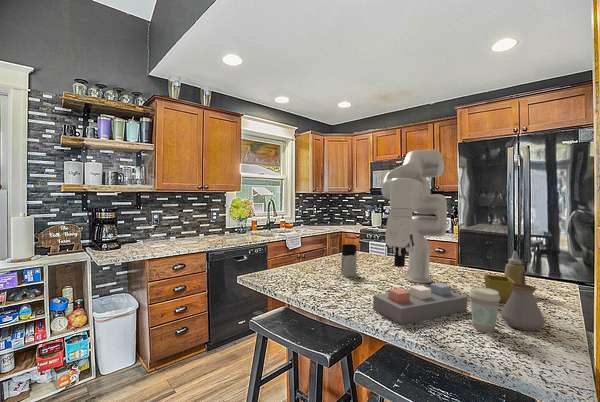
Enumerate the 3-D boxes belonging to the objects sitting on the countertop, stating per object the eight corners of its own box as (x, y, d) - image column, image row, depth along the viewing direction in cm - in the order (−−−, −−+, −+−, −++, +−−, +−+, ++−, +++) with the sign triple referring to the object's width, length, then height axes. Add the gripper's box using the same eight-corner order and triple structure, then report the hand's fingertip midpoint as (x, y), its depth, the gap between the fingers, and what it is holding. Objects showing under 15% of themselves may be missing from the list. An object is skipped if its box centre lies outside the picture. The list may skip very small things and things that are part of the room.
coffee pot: (545, 337, 88) (547, 287, 88) (499, 326, 95) (500, 280, 95) (542, 315, 105) (543, 273, 105) (502, 307, 112) (504, 267, 112)
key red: (388, 303, 105) (388, 289, 105) (399, 302, 108) (399, 288, 107) (398, 308, 101) (398, 294, 101) (409, 306, 103) (409, 292, 103)
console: (373, 308, 108) (373, 295, 108) (435, 298, 121) (435, 286, 121) (400, 324, 96) (400, 308, 96) (466, 310, 108) (467, 297, 108)
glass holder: (358, 276, 153) (359, 246, 152) (330, 275, 153) (331, 246, 153) (355, 271, 161) (356, 244, 161) (329, 271, 162) (329, 243, 161)
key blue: (429, 296, 114) (430, 283, 114) (439, 295, 116) (439, 282, 116) (440, 301, 109) (441, 287, 109) (450, 299, 111) (450, 286, 111)
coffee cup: (462, 322, 98) (462, 286, 98) (486, 322, 98) (487, 286, 98) (479, 335, 89) (480, 295, 89) (506, 334, 90) (507, 294, 90)
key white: (409, 300, 110) (410, 286, 109) (419, 298, 112) (420, 285, 112) (420, 304, 105) (420, 290, 105) (430, 303, 107) (431, 289, 107)
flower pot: (507, 298, 123) (508, 276, 123) (515, 305, 115) (515, 282, 114) (483, 295, 126) (483, 274, 126) (488, 302, 117) (489, 279, 117)
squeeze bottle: (529, 296, 126) (530, 253, 126) (508, 294, 128) (509, 252, 127) (519, 290, 134) (520, 250, 134) (499, 288, 136) (500, 249, 135)
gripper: (378, 212, 109) (377, 262, 109) (408, 215, 95) (407, 272, 95) (394, 212, 112) (393, 261, 112) (425, 215, 98) (424, 270, 98)
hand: (399, 266), depth 104 cm, fingers closed
